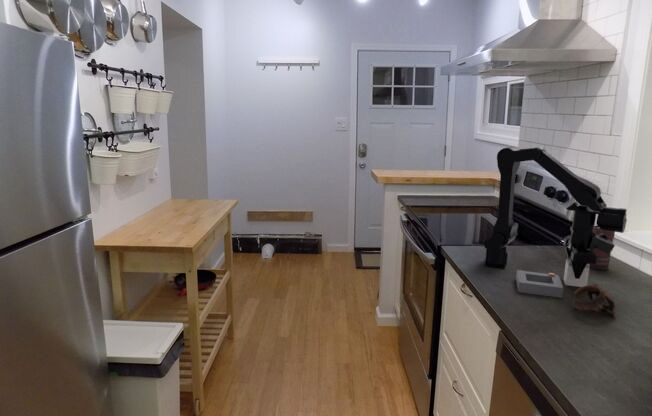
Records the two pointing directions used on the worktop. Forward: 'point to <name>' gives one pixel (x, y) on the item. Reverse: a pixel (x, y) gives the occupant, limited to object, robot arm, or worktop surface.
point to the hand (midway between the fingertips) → (575, 275)
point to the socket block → (539, 283)
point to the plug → (570, 277)
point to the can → (602, 256)
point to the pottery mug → (594, 299)
